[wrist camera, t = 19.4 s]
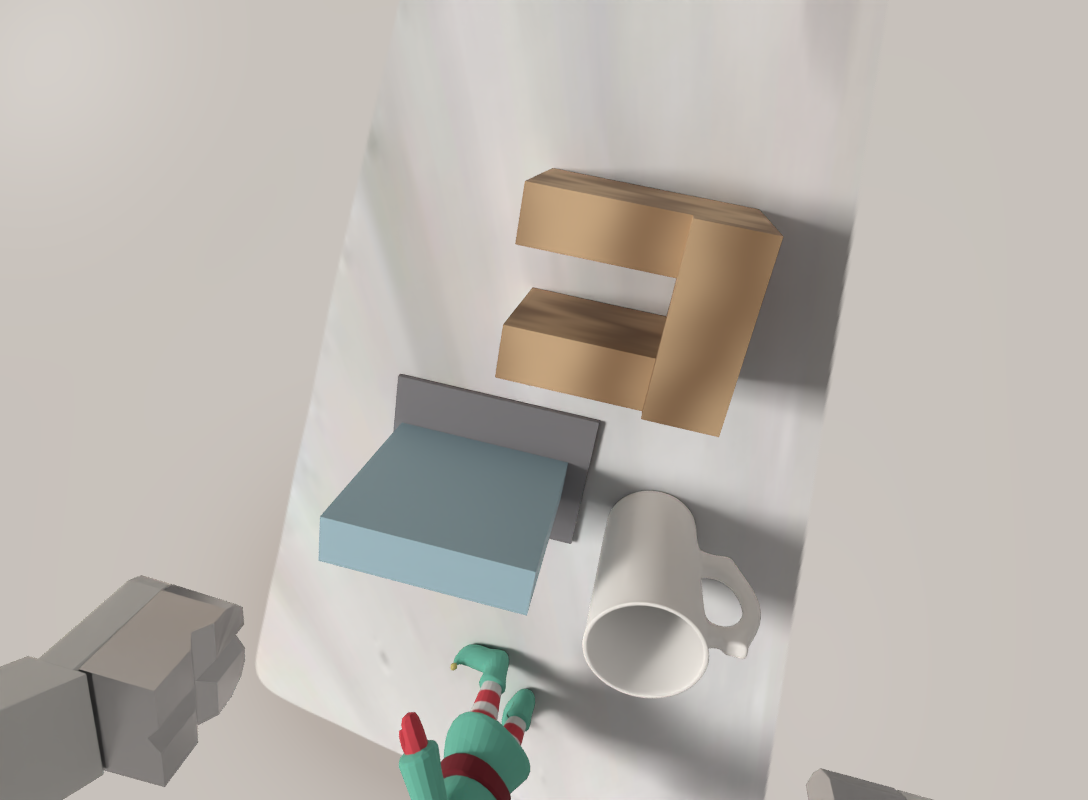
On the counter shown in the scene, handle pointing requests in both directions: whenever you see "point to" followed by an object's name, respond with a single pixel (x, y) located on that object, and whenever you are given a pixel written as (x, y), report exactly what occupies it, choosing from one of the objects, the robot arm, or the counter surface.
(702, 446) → the counter surface
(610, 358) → the slot box
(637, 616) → the mug
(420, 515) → the blue rectangular block
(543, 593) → the counter surface
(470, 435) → the mat
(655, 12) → the counter surface
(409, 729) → the toy
